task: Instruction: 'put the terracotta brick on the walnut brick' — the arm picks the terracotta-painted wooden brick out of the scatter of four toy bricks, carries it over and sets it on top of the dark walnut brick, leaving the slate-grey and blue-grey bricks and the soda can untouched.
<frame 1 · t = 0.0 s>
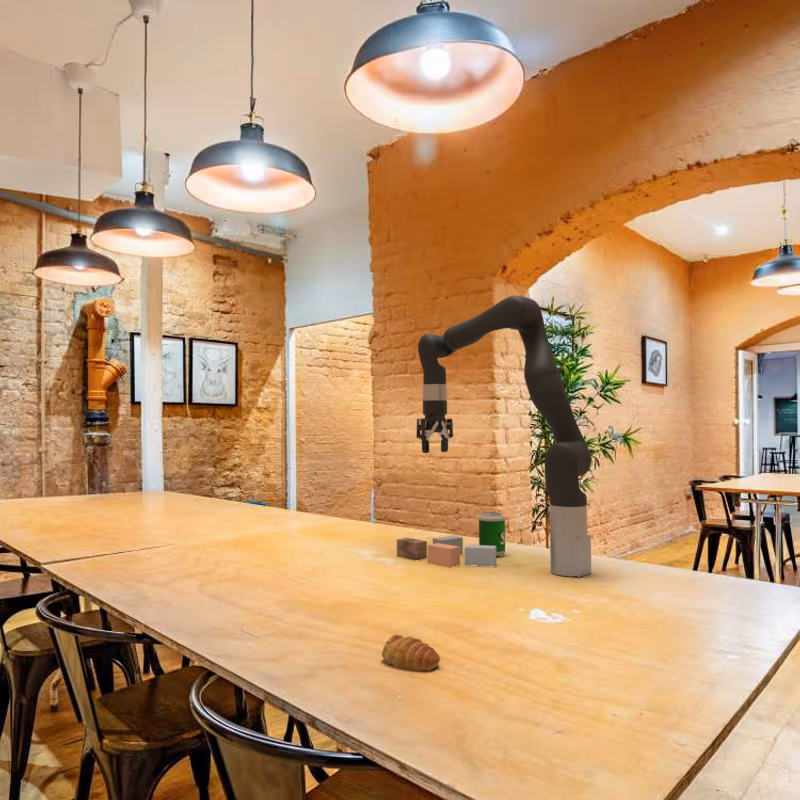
hand: (435, 452, 193), 29 cm above the table, tool pointing down, fingers open, 8 cm apart
pastry: (410, 664, 102), on the table
walnut brick: (411, 557, 180), on the table
terracotta brick: (443, 564, 172), on the table
blue-grey brick: (480, 565, 170), on the table
slate brick: (447, 555, 184), on the table
soda can: (492, 556, 182), on the table
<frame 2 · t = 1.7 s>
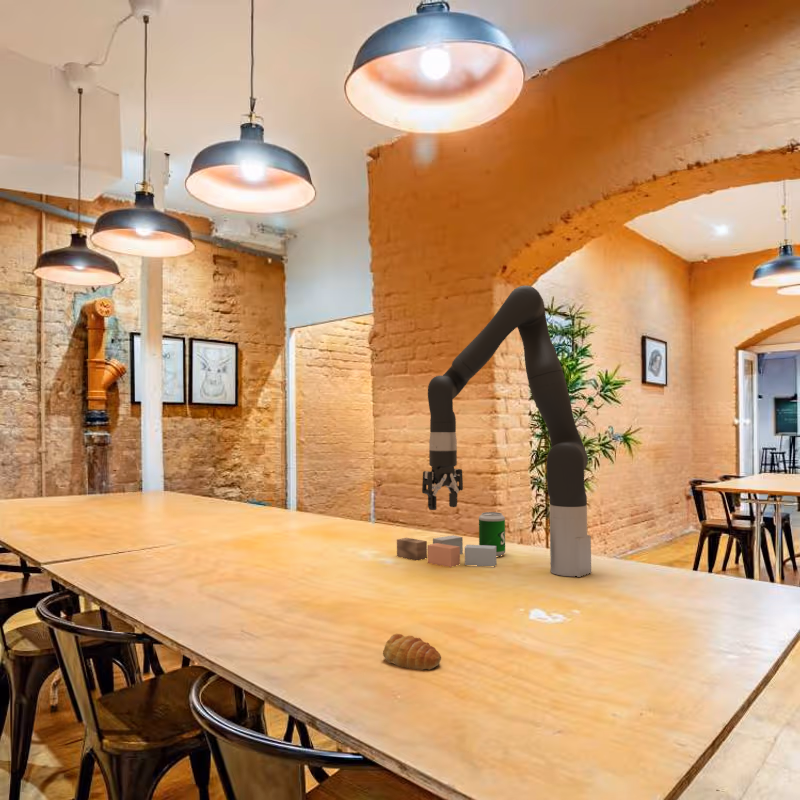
hand: (443, 508, 172), 15 cm above the table, tool pointing down, fingers open, 8 cm apart
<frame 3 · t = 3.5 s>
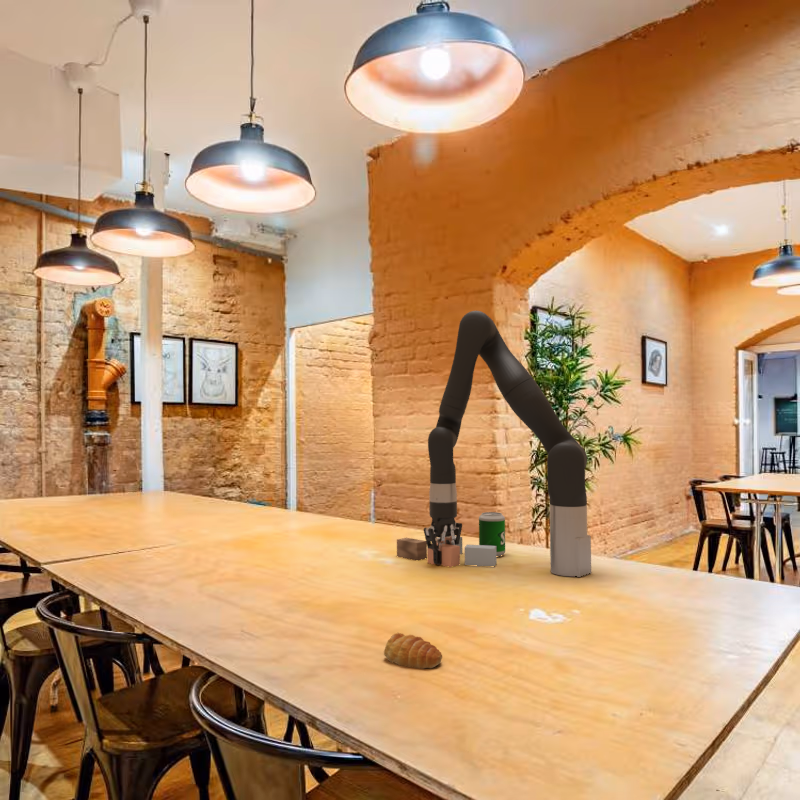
hand: (443, 562, 172), 0 cm above the table, tool pointing down, fingers closed on terracotta brick, 4 cm apart
terracotta brick: (443, 563, 172), on the table, touching gripper
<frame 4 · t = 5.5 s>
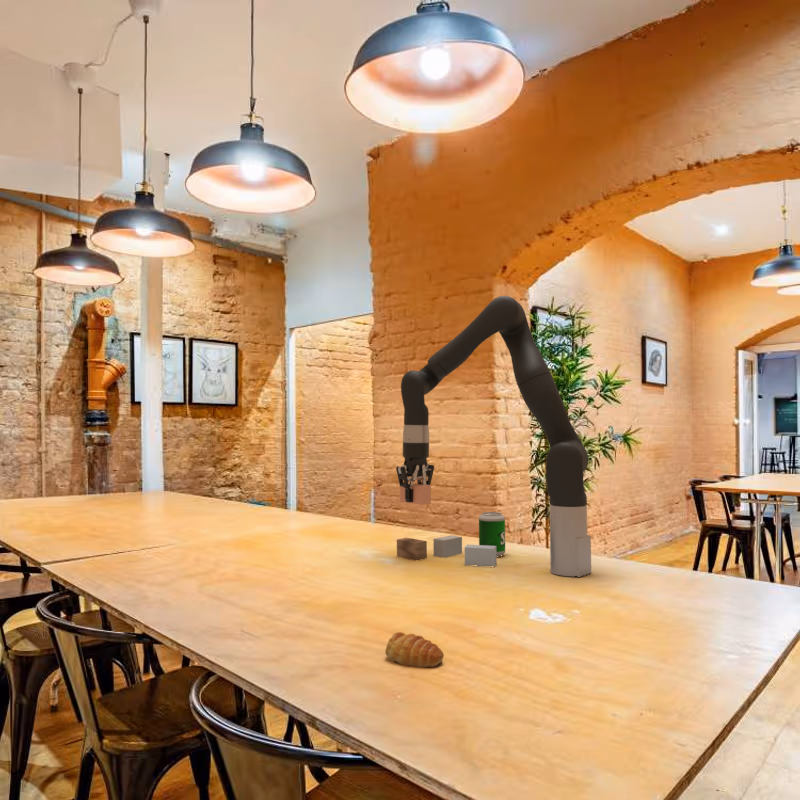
hand: (415, 501, 179), 16 cm above the table, tool pointing down, fingers closed on terracotta brick, 4 cm apart
terracotta brick: (415, 502, 179), point 16 cm above the table, touching gripper
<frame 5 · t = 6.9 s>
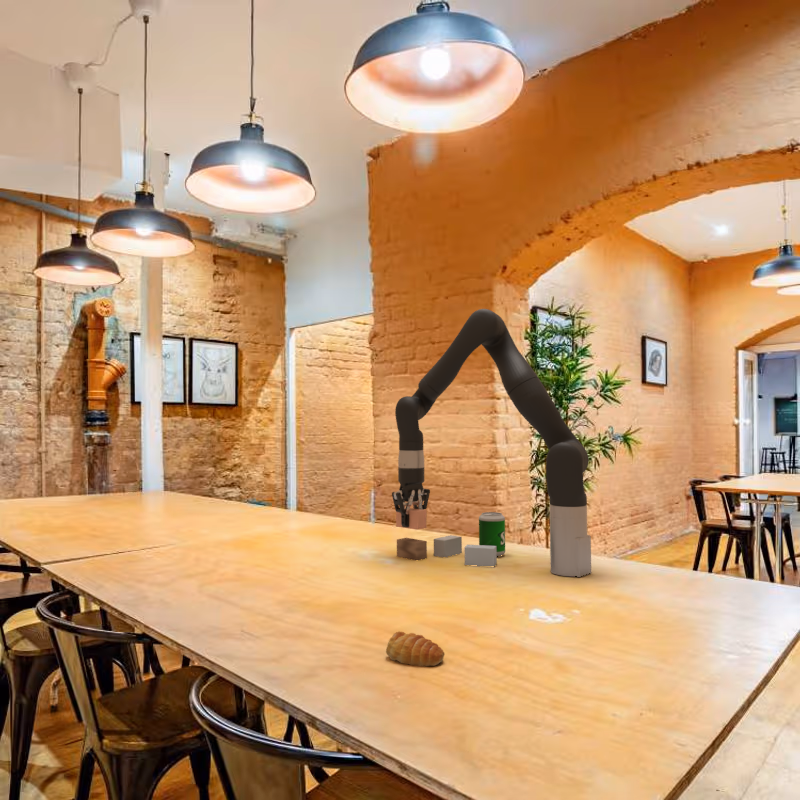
hand: (411, 525, 181), 9 cm above the table, tool pointing down, fingers closed on terracotta brick, 4 cm apart
terracotta brick: (411, 527, 181), point 9 cm above the table, touching gripper
when the fingers open (6 cm above the table, at t = 7.8 s): terracotta brick stays where it is, resting on walnut brick.
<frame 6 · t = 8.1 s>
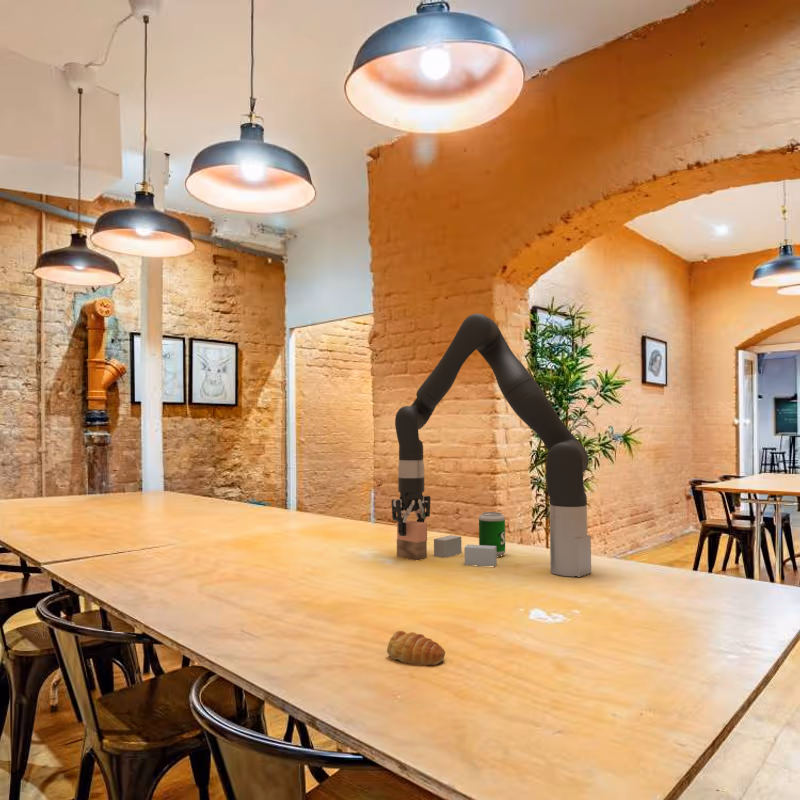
hand: (411, 533, 180), 7 cm above the table, tool pointing down, fingers open, 6 cm apart
walnut brick: (411, 557, 180), on the table, touching terracotta brick
terracotta brick: (412, 540, 180), point 5 cm above the table, touching walnut brick
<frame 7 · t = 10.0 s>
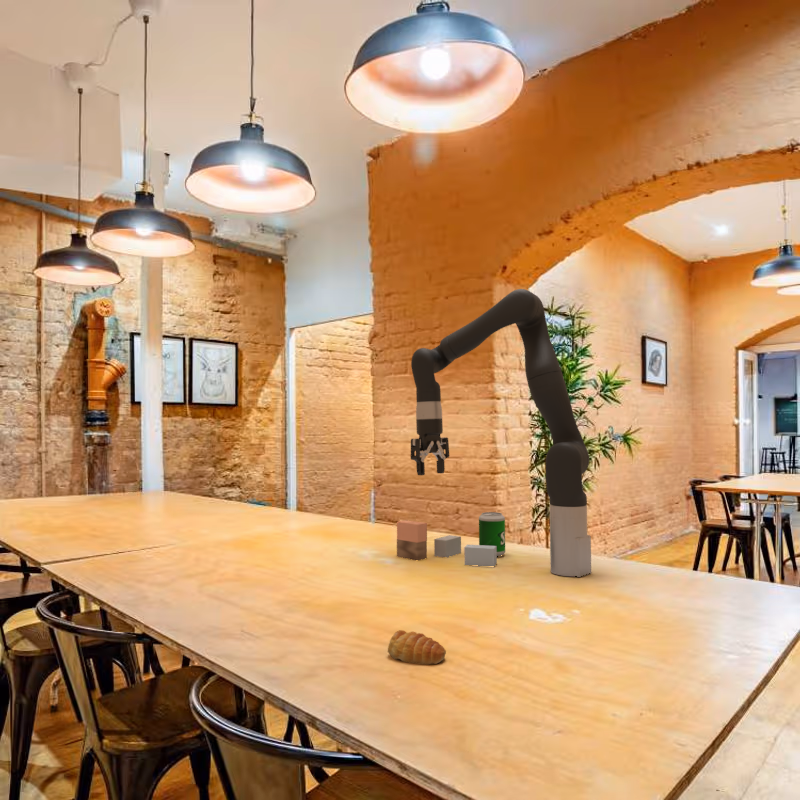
hand: (431, 474, 181), 24 cm above the table, tool pointing down, fingers open, 8 cm apart
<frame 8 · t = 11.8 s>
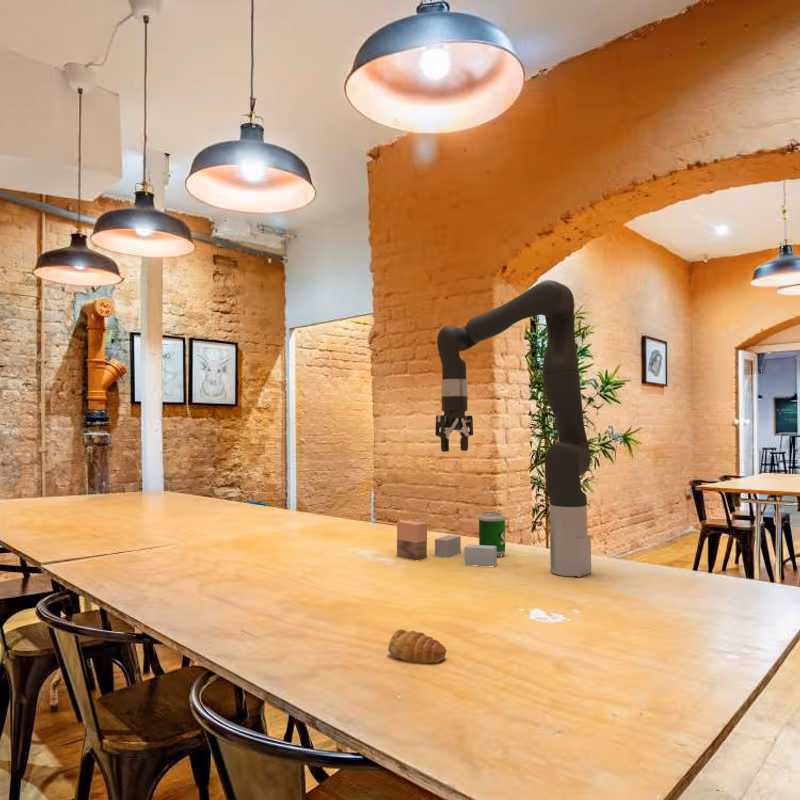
hand: (454, 451, 183), 30 cm above the table, tool pointing down, fingers open, 8 cm apart
at the end: terracotta brick 0.1 cm off-centre on the walnut brick, point 5.0 cm above the walnut brick's base; slate brick moved 0.2 cm from its start; blue-grey brick moved 0.2 cm from its start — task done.
